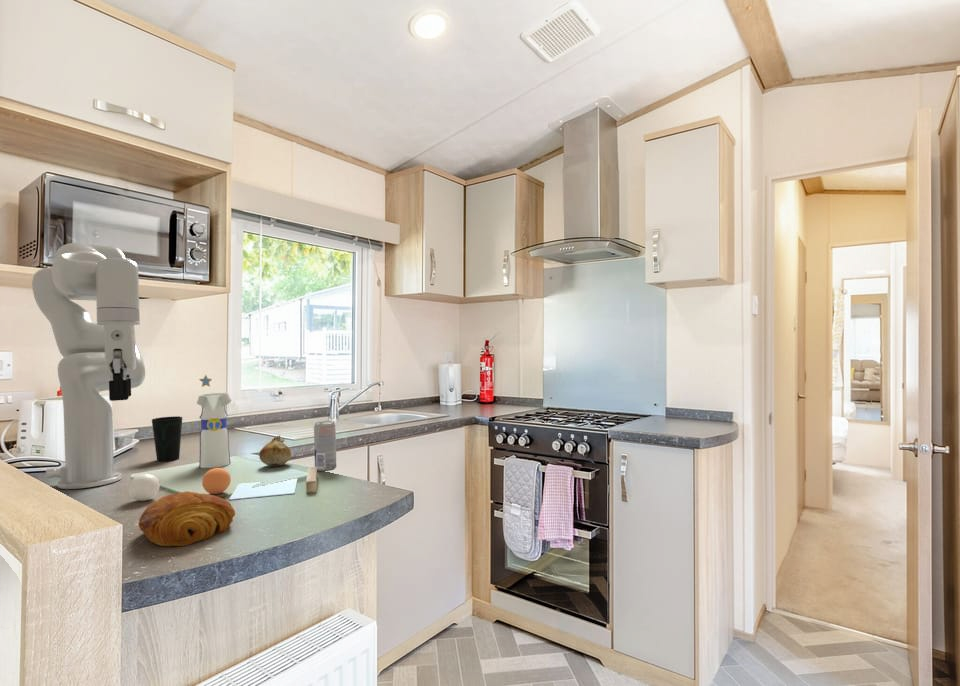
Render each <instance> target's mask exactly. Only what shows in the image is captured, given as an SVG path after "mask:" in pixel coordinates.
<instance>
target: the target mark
mask: <svg viewBox="0 0 960 686" xmlns="http://www.w3.org/2000/svg"><path fill="white" fill-rule="evenodd" d="M286 480H287V479H286ZM298 481H299V480H298V478H291V480H287V481H283V482H278V483H273V484H268V485H265V486H259V487H255V488H252V486H254V485H256V484H258V483H259V484H260V482H261V481H256V482H245V483H242V482H241V483H238V484H237V486H236V488H235V489H234V490H233V492H232V493H231V496H229V499H228V501H234V500H244V499H255V498H256V499H257V498H265V497H266V498H267V497H277V496H287V495H294V494H295V492H296V489H297V484H298Z"/></svg>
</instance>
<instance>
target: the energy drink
mask: <svg viewBox="0 0 960 686" xmlns="http://www.w3.org/2000/svg"><path fill="white" fill-rule="evenodd" d="M336 432H337V431H336V424H335V421H331V420H330V421H329V420H328V421H318V422H315V423H314V426H313V438H314V439H313V441H314V442H313V447H314V450H313V451H314V467H317V472H330V471H334V470H335V469H337V435H336V434H337V433H336Z"/></svg>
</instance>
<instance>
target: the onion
mask: <svg viewBox="0 0 960 686" xmlns="http://www.w3.org/2000/svg"><path fill="white" fill-rule="evenodd" d="M285 440H286V439H285V438H283V437H281V435H277V436H274V437H273V438H272V439H271V440H270V441H268V442H267V444H265V445H264V446H263V447H262V448H261V450H260V451H259V455H258V457H259V460H260V461H261V463H263V464H264V465H266V466H268V467H272V468H274V467H276V468H277V467H280V466H284V465H285V464H286V463H288V462H289V461H290V460H291V456H292V452H291V449H290V447H289V446H288V445H286V444H285V443H284V442H285Z"/></svg>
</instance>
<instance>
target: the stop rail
mask: <svg viewBox="0 0 960 686" xmlns="http://www.w3.org/2000/svg"><path fill="white" fill-rule="evenodd" d="M317 483H318V471H317V467H315V466H311V467H307V474H306V482H305V487H306V491H305V492H306V494H315V493H317V485H318V484H317Z"/></svg>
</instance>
